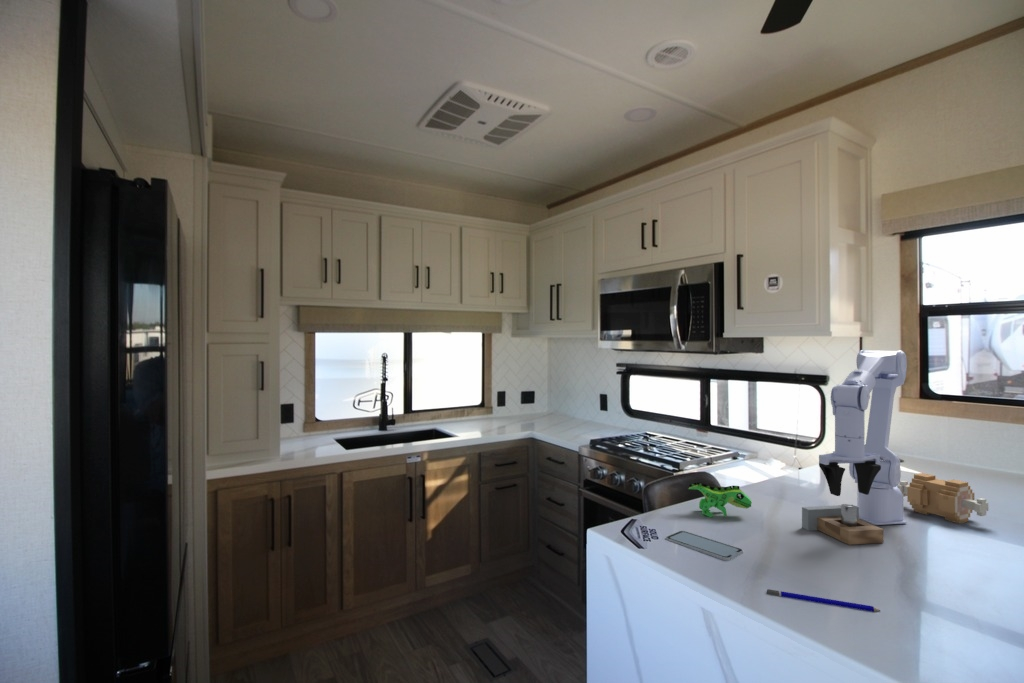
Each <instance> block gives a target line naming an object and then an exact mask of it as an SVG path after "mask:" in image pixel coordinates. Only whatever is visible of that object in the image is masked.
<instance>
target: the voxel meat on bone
mask: <svg viewBox="0 0 1024 683" xmlns="http://www.w3.org/2000/svg"><path fill="white" fill-rule="evenodd" d="M896 487H898V488H899V489H900V491H901V492H902V495H903V498H904V497H906V498H907V502H908V503H909V505H910V506H911V509H913V511H914V512H917V513H920V514H924V515H931V514H932V515H936V516H939V517H944V520H945V521H949V522H953V523H956V524H963V523H964V524H965V523H967V522H969V518H971V514H973V511H974V512H975V513H976V516H978V517H985V516H987V512H988V511H989V502H987V498H982V497H979V498H976V500H975V492H973V489H972V488H971V485H969V482H967V481H963V480H958V479H950V480H949V479H947V480H945V479H944V480H943V479H939V478H936V475H933V474H928V473H924V472H922V473H914V474H913V478H911V481H910V482H909V481H907V480H900V482H899V484H898V485H897V486H896Z"/></svg>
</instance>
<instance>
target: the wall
mask: <svg viewBox="0 0 1024 683" xmlns="http://www.w3.org/2000/svg"><path fill="white" fill-rule="evenodd" d="M841 505H842V504H839V505H835V504H834V505H818V506H802V507H801V528H802V529H804V530H806V531H818V530H817V517H832V516H841ZM852 505H853V506H856V507H857V505H854V504H852ZM857 519H859V507H857Z"/></svg>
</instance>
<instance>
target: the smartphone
mask: <svg viewBox="0 0 1024 683" xmlns="http://www.w3.org/2000/svg"><path fill="white" fill-rule="evenodd" d="M665 540H666V541H670V542H672V543H675V544H678V545H681V546H683V547H685V548H688V549H692V550H695V551H697V552H700V553H703V554H705V555H709V556H712V557H714V558H717V559H719V560H722V561H726V562H728V561H732V560H733V559H735V558H737V557H739V556H741V555H742V554H743V553H744V549H742V548H741V547H740V548H739V547H737V546H734V545H732V544H731V545H730V544H727V543H724V542H720V541H718V540H716V539H715V540H714V539H710V538H708V537H704V536H702V535H698V534H695V533H692V532H689V531H685V530H679V531H677V532H674V533H672V534H669V535H666V537H665Z"/></svg>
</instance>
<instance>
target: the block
mask: <svg viewBox="0 0 1024 683" xmlns="http://www.w3.org/2000/svg"><path fill="white" fill-rule="evenodd" d="M816 531H819V532H821V533H824V534H826V535H828V536H830V537H832V538H834V539H836V540H838V541H840V542H842V543H844V544H846V545H849V546H850V545H864V544H865V545H866V544H880V543H884V540H885V539H884V538H885V537H884V528H881V527H879V526H878V525H873V524H871V523H868V522H866V521H864V520H861V519H857V527H848V526H846V525H843V524H841V516H832V517H817V530H816Z"/></svg>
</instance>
